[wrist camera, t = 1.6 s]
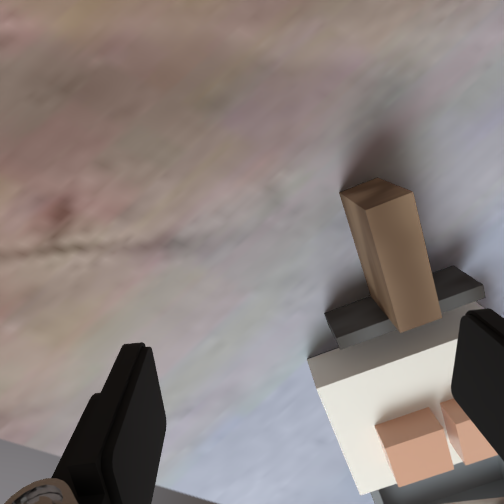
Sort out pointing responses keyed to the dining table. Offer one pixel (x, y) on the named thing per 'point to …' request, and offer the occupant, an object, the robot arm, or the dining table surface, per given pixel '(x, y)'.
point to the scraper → (394, 268)
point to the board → (386, 389)
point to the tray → (450, 485)
